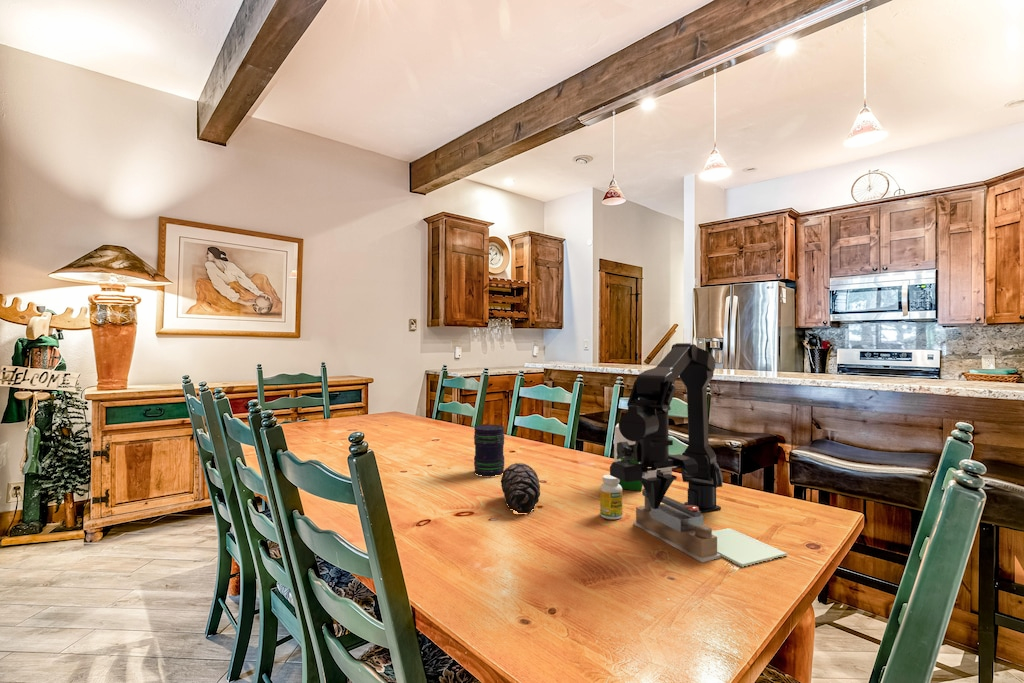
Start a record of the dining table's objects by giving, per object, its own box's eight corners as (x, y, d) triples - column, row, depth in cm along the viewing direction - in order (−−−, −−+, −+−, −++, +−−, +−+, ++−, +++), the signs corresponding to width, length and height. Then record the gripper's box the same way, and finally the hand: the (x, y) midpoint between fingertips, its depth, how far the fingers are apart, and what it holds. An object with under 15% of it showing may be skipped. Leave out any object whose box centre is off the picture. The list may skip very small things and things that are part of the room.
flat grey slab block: (672, 513, 105) (672, 502, 105) (703, 527, 97) (703, 515, 97) (651, 517, 103) (651, 505, 103) (680, 532, 95) (680, 519, 95)
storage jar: (470, 476, 150) (470, 429, 150) (477, 468, 160) (477, 424, 160) (501, 478, 148) (501, 430, 148) (506, 469, 158) (506, 425, 158)
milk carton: (612, 489, 136) (612, 419, 136) (616, 481, 145) (616, 415, 145) (644, 492, 133) (644, 421, 134) (646, 483, 142) (646, 416, 142)
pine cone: (510, 519, 113) (510, 477, 113) (497, 496, 131) (497, 459, 131) (552, 515, 116) (552, 474, 116) (533, 493, 133) (533, 457, 133)
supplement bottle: (611, 510, 119) (611, 472, 119) (627, 517, 114) (627, 477, 114) (595, 514, 116) (595, 475, 116) (611, 521, 111) (611, 480, 111)
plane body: (633, 524, 110) (633, 494, 110) (650, 521, 112) (649, 492, 112) (701, 562, 90) (701, 526, 90) (720, 558, 92) (720, 523, 92)
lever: (639, 493, 109) (639, 487, 109) (649, 492, 110) (649, 486, 110) (692, 517, 94) (692, 510, 94) (703, 515, 95) (703, 508, 95)
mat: (729, 530, 106) (729, 527, 106) (787, 556, 93) (787, 553, 93) (687, 539, 101) (687, 536, 101) (742, 567, 88) (742, 564, 88)
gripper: (663, 424, 110) (663, 492, 110) (595, 430, 103) (595, 502, 103) (699, 433, 100) (699, 507, 100) (626, 440, 93) (626, 519, 93)
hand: (654, 508), depth 99 cm, fingers closed
